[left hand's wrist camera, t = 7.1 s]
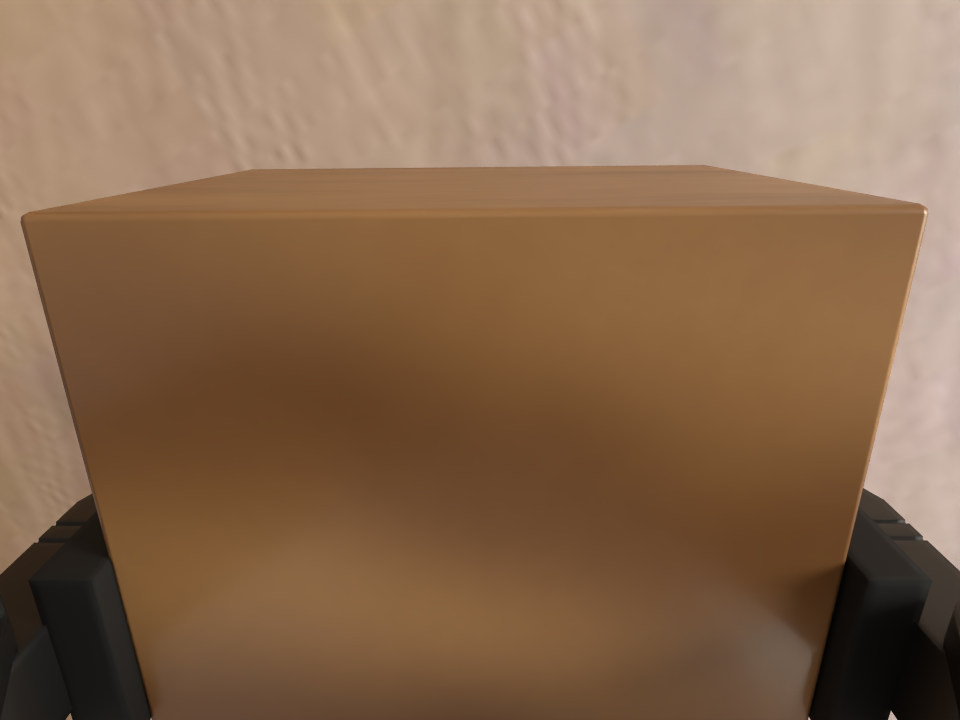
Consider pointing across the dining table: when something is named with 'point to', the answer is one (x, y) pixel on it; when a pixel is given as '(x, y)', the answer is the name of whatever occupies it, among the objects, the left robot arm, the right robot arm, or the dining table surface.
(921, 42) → the dining table surface
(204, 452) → the slab
